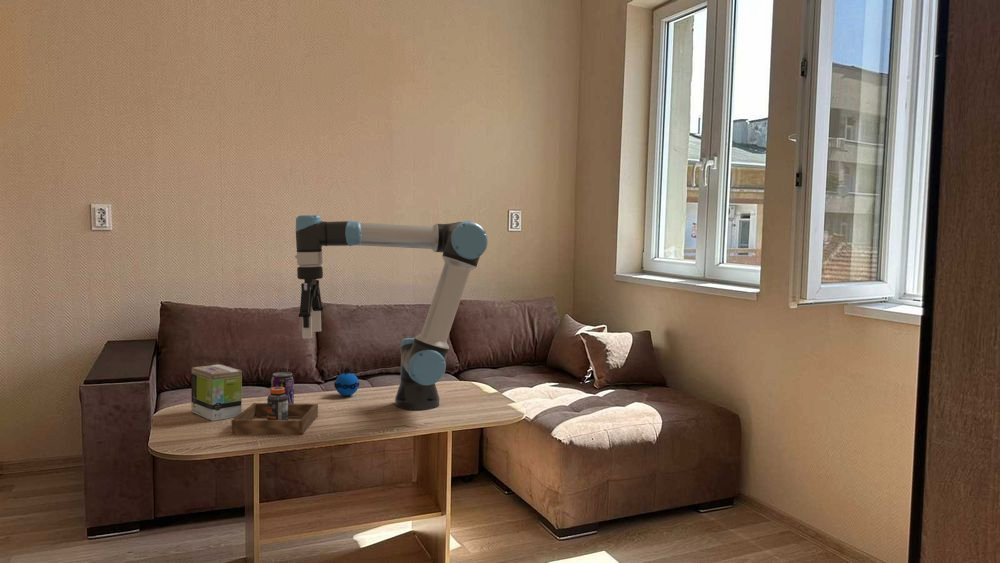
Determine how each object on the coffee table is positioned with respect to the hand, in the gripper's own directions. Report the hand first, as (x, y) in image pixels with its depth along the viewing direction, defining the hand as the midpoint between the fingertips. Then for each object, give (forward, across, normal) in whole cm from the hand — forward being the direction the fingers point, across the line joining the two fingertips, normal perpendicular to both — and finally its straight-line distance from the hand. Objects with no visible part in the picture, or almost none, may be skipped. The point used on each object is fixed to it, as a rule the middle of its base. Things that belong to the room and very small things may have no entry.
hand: (312, 334), depth 214 cm
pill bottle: (+26, +6, -10) cm, 29 cm away
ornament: (+27, -32, +4) cm, 42 cm away
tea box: (+26, -6, -32) cm, 41 cm away
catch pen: (+26, +6, -10) cm, 29 cm away
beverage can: (+26, -11, -13) cm, 32 cm away
